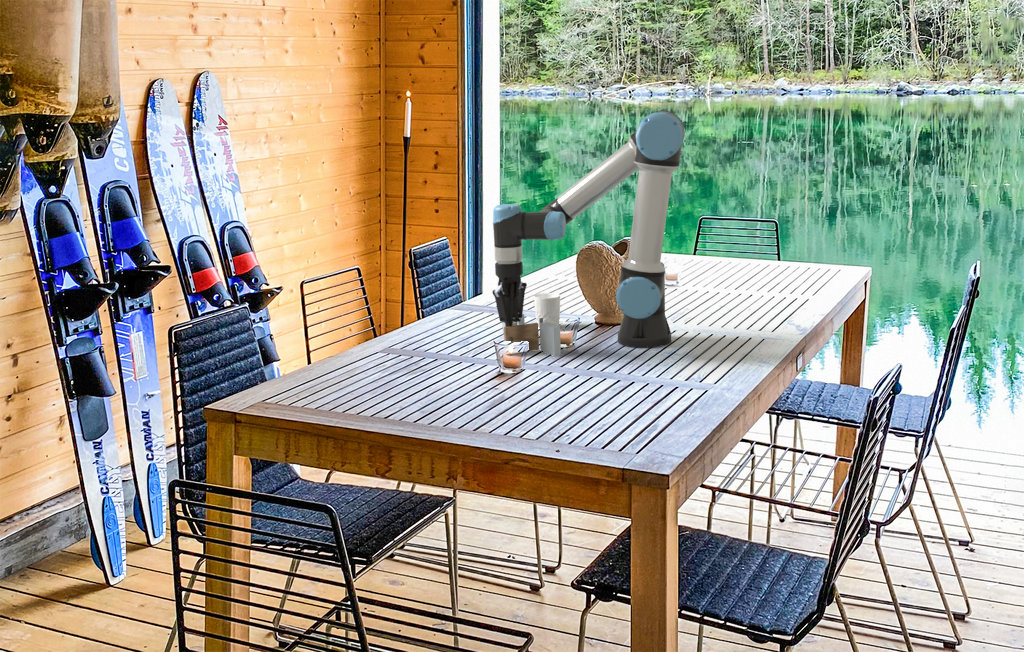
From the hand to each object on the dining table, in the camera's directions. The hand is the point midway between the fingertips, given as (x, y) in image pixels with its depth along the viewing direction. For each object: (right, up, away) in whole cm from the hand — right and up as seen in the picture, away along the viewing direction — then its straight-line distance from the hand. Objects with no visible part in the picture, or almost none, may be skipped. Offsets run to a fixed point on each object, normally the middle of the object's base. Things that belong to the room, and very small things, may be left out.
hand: (512, 344), depth 308 cm
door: (+3, -2, -2) cm, 4 cm away
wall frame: (+6, 0, +6) cm, 8 cm away
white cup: (+11, +4, +28) cm, 30 cm away
